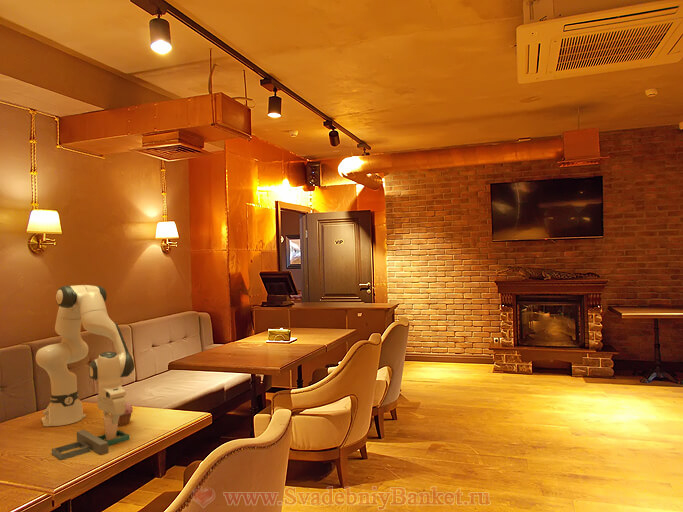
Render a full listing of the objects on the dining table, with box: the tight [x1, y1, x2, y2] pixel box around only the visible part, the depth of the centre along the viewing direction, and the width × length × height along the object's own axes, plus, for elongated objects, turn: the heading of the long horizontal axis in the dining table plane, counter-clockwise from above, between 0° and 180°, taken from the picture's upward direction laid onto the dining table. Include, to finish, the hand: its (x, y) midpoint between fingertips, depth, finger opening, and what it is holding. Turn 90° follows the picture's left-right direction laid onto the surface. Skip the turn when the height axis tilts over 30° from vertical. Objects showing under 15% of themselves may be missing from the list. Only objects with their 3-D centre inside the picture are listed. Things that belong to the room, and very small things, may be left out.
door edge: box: [76, 429, 109, 456], centre depth 202 cm, size 26×3×4 cm, turn 47°
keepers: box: [51, 429, 131, 461], centre depth 202 cm, size 10×27×2 cm, turn 137°
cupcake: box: [118, 402, 134, 426], centre depth 230 cm, size 9×9×10 cm
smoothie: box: [103, 413, 119, 441], centre depth 207 cm, size 6×6×14 cm
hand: (111, 422), depth 208 cm, fingers closed on smoothie, 6 cm apart
